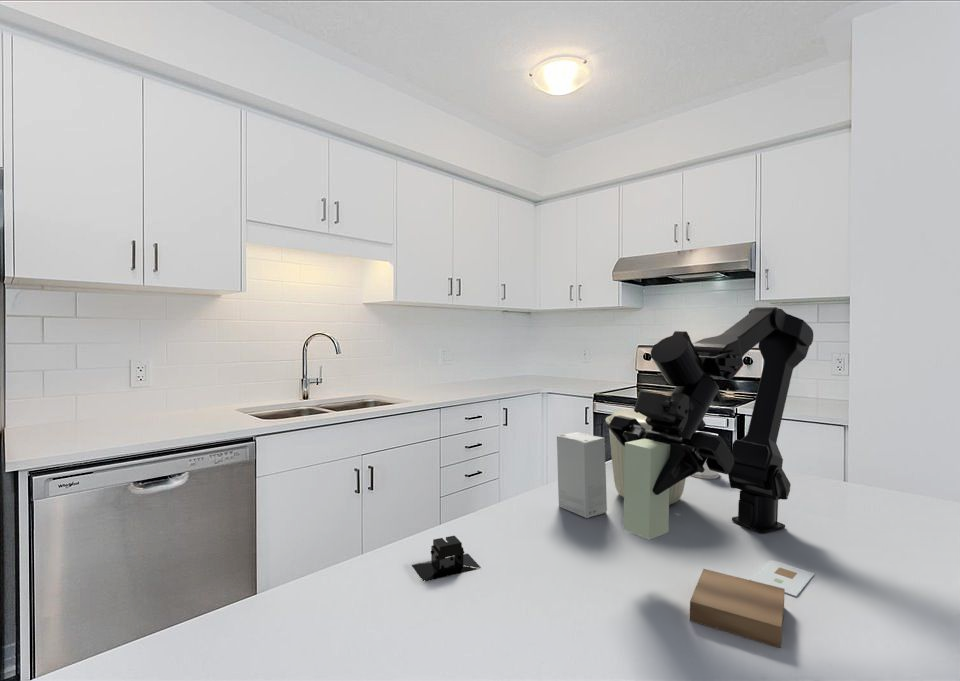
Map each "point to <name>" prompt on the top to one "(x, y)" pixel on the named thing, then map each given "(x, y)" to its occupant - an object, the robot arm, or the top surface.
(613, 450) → the canister
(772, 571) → the blueprint card
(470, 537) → the top surface
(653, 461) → the pillar
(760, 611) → the foundation slab
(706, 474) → the vase
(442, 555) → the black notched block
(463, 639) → the top surface
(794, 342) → the robot arm
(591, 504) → the skincare box
